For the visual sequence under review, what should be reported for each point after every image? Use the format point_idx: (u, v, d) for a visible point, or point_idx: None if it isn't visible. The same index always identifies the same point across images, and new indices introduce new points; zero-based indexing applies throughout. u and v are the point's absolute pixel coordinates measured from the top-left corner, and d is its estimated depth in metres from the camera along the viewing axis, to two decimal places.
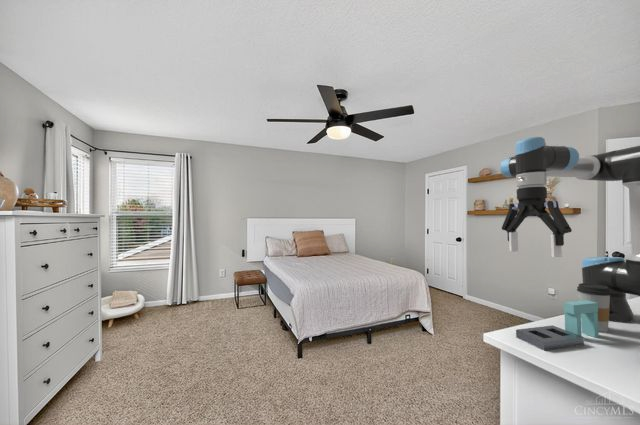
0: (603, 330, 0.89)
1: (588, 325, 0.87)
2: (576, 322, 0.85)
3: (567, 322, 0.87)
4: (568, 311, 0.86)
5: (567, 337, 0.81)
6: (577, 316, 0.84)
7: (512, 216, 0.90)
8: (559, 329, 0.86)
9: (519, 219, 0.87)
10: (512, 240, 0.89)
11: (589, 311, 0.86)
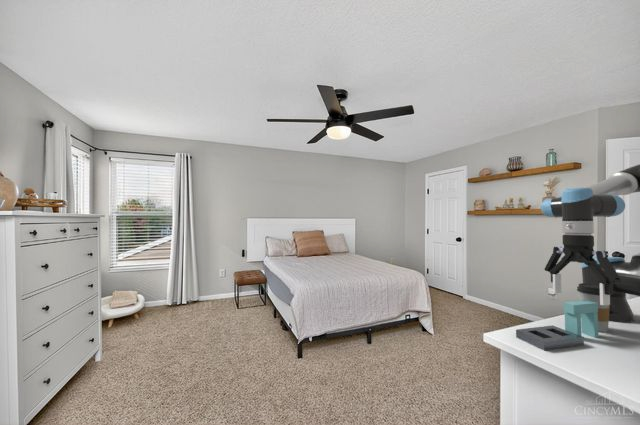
0: (603, 330, 0.89)
1: (588, 325, 0.87)
2: (576, 322, 0.85)
3: (567, 322, 0.87)
4: (568, 311, 0.86)
5: (567, 337, 0.81)
6: (577, 316, 0.84)
7: (556, 259, 0.94)
8: (559, 329, 0.86)
9: (564, 263, 0.91)
10: (556, 282, 0.93)
11: (589, 311, 0.86)
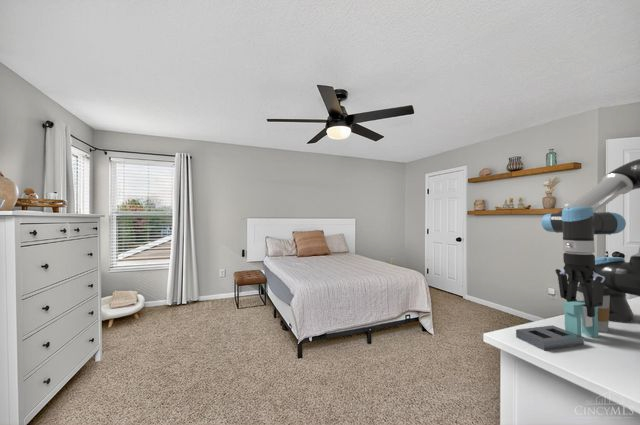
0: (603, 330, 0.89)
1: None
2: (576, 322, 0.85)
3: (567, 322, 0.87)
4: (568, 311, 0.86)
5: (567, 337, 0.81)
6: (577, 316, 0.84)
7: (565, 282, 0.92)
8: (559, 329, 0.86)
9: (573, 285, 0.88)
10: None
11: None
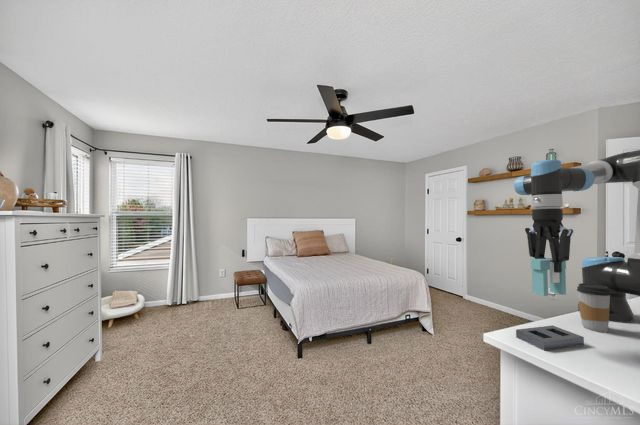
0: (603, 330, 0.89)
1: (556, 283, 0.85)
2: (542, 278, 0.82)
3: (534, 279, 0.84)
4: (535, 267, 0.84)
5: (567, 337, 0.81)
6: (543, 272, 0.82)
7: (534, 240, 0.89)
8: (559, 329, 0.86)
9: (541, 242, 0.86)
10: None
11: None
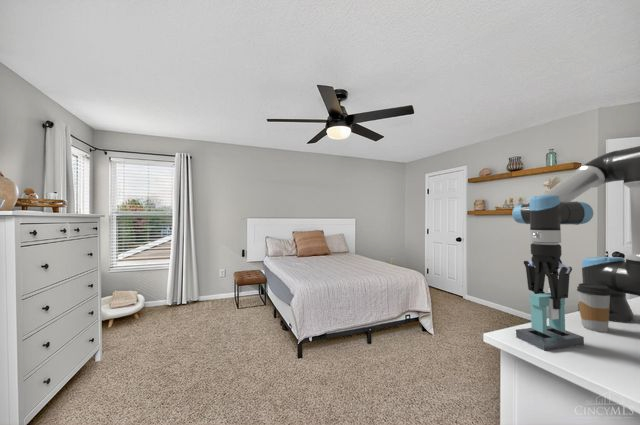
0: (603, 330, 0.89)
1: None
2: (541, 314, 0.81)
3: (533, 315, 0.84)
4: (534, 303, 0.83)
5: (567, 337, 0.81)
6: (542, 308, 0.81)
7: (533, 274, 0.88)
8: None
9: (540, 276, 0.85)
10: None
11: None
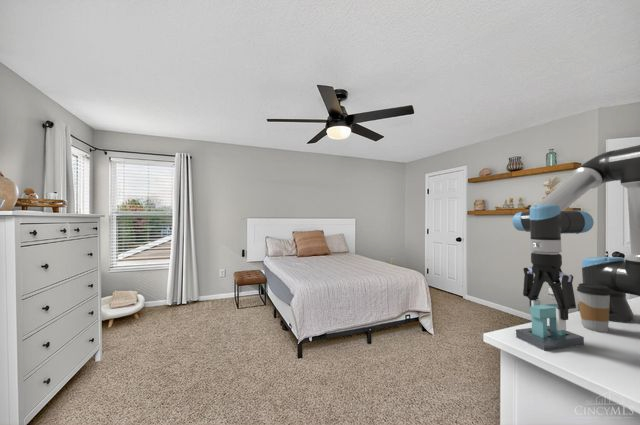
0: (603, 330, 0.89)
1: (556, 330, 0.84)
2: (542, 326, 0.81)
3: (534, 326, 0.84)
4: (534, 315, 0.83)
5: (567, 337, 0.81)
6: (543, 320, 0.81)
7: (530, 281, 0.89)
8: None
9: (538, 285, 0.86)
10: None
11: None
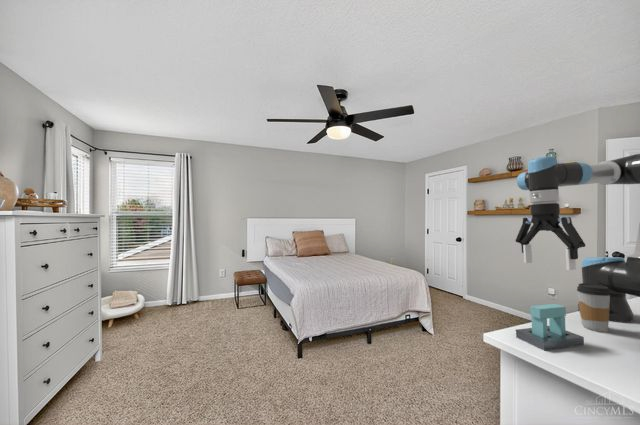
0: (603, 330, 0.89)
1: (556, 330, 0.84)
2: (542, 326, 0.81)
3: (534, 326, 0.84)
4: (534, 315, 0.83)
5: (567, 337, 0.81)
6: (543, 320, 0.81)
7: (526, 230, 0.95)
8: None
9: (533, 233, 0.92)
10: (527, 252, 0.95)
11: (556, 315, 0.83)
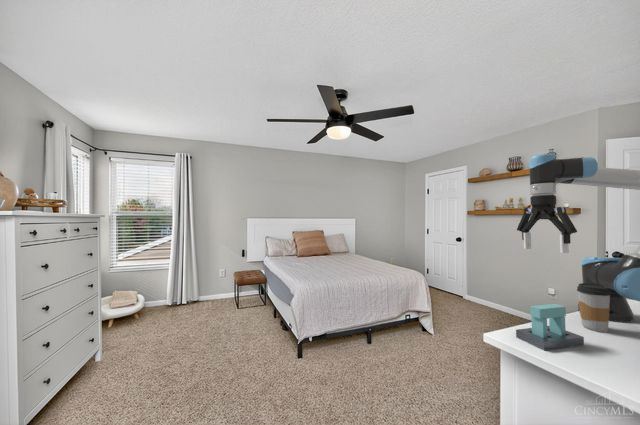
0: (603, 330, 0.89)
1: (556, 330, 0.84)
2: (542, 326, 0.81)
3: (534, 326, 0.84)
4: (534, 315, 0.83)
5: (567, 337, 0.81)
6: (543, 320, 0.81)
7: (526, 219, 1.07)
8: None
9: (532, 221, 1.04)
10: (526, 239, 1.06)
11: (556, 315, 0.83)
